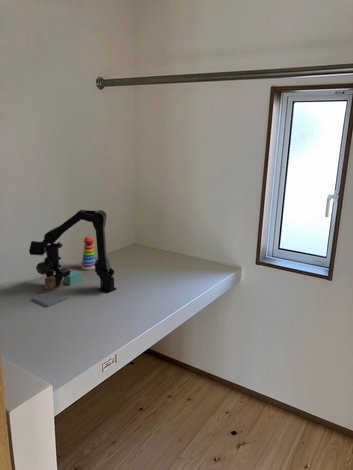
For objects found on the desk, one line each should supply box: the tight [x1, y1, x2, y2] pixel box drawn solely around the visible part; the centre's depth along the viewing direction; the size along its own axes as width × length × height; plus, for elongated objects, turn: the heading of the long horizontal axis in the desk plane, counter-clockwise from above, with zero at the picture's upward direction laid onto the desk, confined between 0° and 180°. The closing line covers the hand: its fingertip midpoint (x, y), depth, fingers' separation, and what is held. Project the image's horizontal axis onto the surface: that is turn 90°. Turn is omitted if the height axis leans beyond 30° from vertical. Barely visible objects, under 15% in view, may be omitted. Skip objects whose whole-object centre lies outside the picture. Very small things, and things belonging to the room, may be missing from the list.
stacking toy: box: [80, 235, 96, 271], centre depth 212 cm, size 8×8×19 cm
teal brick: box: [63, 270, 82, 287], centre depth 194 cm, size 5×7×5 cm
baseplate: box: [31, 290, 68, 308], centre depth 174 cm, size 11×11×1 cm
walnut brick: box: [44, 276, 64, 291], centre depth 187 cm, size 5×7×5 cm
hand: (54, 285), depth 187 cm, fingers closed on walnut brick, 5 cm apart
